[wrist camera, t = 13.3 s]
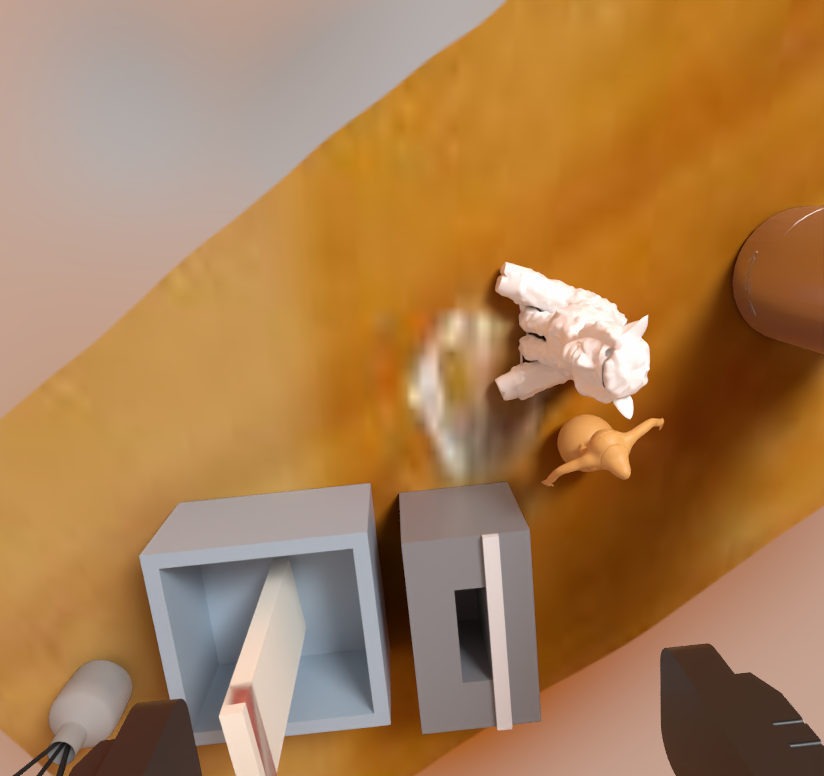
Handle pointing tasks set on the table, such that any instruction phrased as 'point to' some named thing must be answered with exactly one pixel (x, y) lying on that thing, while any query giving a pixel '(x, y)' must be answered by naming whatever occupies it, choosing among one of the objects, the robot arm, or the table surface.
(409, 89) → the table surface
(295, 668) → the ticket
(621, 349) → the white creature statuette
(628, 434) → the figurine
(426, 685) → the dispenser
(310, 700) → the bin
